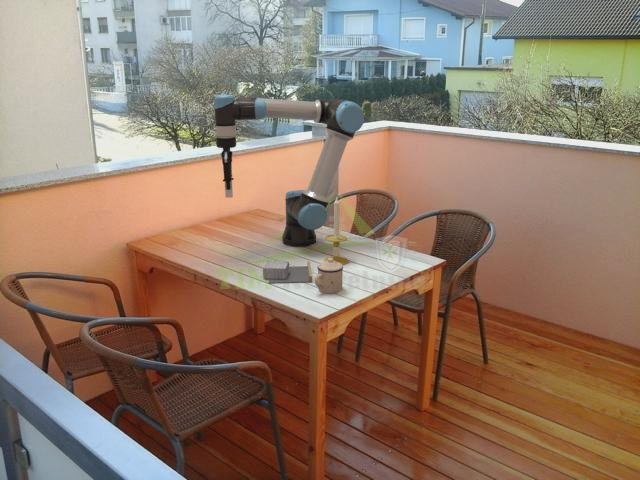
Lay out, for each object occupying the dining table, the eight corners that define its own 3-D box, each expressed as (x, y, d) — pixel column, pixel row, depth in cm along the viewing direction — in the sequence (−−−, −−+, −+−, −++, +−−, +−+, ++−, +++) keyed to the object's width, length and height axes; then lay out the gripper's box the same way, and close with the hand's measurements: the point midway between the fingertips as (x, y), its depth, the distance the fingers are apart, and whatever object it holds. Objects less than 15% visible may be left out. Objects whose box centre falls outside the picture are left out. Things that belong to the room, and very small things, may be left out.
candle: (344, 266, 233) (345, 200, 224) (320, 263, 236) (320, 198, 228) (351, 258, 242) (352, 194, 233) (328, 255, 245) (329, 192, 237)
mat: (309, 267, 232) (309, 261, 232) (312, 282, 217) (312, 276, 217) (269, 268, 231) (268, 262, 231) (268, 283, 216) (268, 277, 216)
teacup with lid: (329, 282, 217) (330, 252, 214) (348, 289, 211) (348, 258, 207) (306, 291, 209) (306, 260, 205) (324, 299, 203) (324, 267, 199)
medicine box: (263, 278, 220) (286, 279, 219) (262, 267, 218) (285, 268, 217) (267, 271, 227) (289, 272, 226) (266, 260, 226) (289, 261, 225)
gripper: (217, 134, 230) (220, 193, 238) (214, 139, 218) (217, 201, 225) (237, 134, 231) (239, 193, 238) (234, 139, 218) (237, 201, 226)
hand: (229, 197), depth 232 cm, fingers closed
